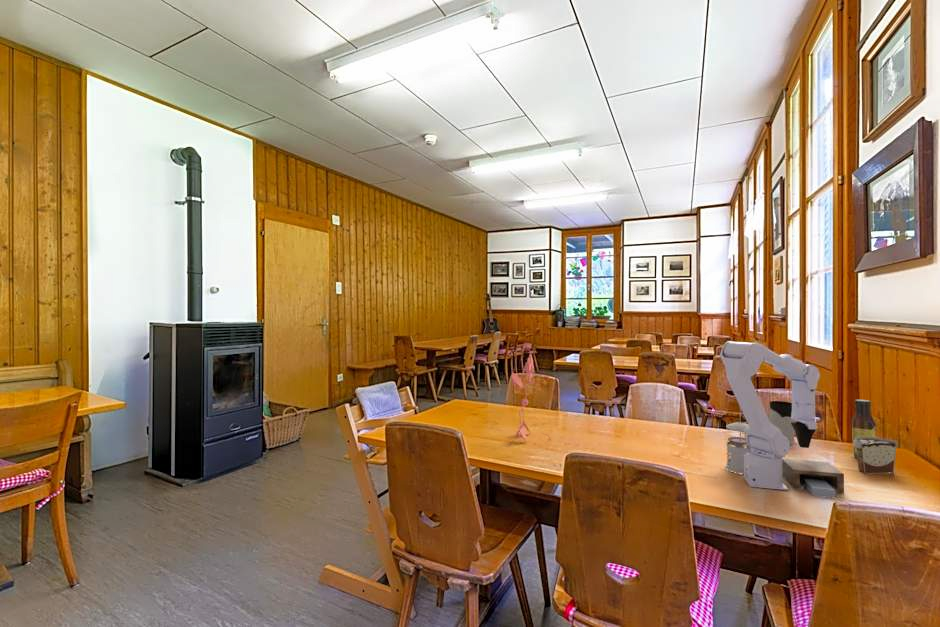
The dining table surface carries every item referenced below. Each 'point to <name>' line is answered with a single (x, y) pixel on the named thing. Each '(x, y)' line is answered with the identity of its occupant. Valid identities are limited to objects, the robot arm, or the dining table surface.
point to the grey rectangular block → (819, 488)
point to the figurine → (517, 380)
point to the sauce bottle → (862, 422)
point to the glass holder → (782, 418)
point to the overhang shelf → (811, 473)
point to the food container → (875, 454)
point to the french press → (737, 448)
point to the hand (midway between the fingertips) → (803, 447)
